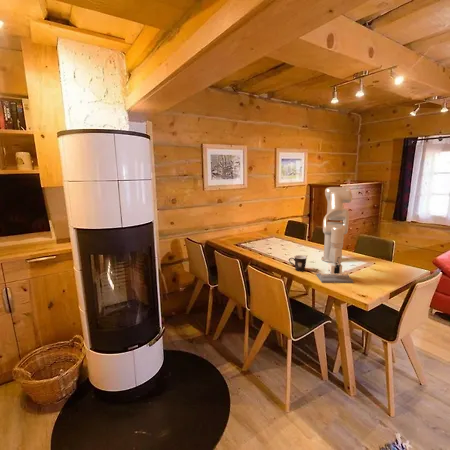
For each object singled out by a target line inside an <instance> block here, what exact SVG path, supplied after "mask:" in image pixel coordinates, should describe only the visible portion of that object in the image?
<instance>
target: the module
mask: <svg viewBox="0 0 450 450" xmlns="http://www.w3.org/2000/svg"><path fill="white" fill-rule="evenodd" d="M327 265H328V266H327V271H328V272H330V273H329V274H343V265H342V264H341V265H340V271H339V273H334V267H335V263H331V262H327ZM337 265H338V264H336V266H337Z"/></svg>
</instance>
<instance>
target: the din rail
mask: <svg viewBox="0 0 450 450" xmlns="http://www.w3.org/2000/svg"><path fill="white" fill-rule="evenodd" d="M319 274H320V277H321V278H349V277H350V275H349V273H342V274H331V273H319Z"/></svg>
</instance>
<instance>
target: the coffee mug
mask: <svg viewBox="0 0 450 450" xmlns="http://www.w3.org/2000/svg"><path fill="white" fill-rule="evenodd" d="M292 259H293V261H294V263H293V262H292V261H291V260H292ZM288 261H289V264H291V265H292V266H294V268H295V271H296V272H301V273H302V272H305V271H306V270H305V269H306V264H307V256H305V255H301V254H300V255H299V254H298V255H294V257H290V258H289V259H288Z"/></svg>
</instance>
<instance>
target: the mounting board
mask: <svg viewBox="0 0 450 450" xmlns="http://www.w3.org/2000/svg"><path fill="white" fill-rule="evenodd" d="M320 274H321V273H316V277H317V278H318V280H319V281H320V282H321V283H322V284H324V283H325V284H326V283H327V284H328V283H329V284H332V283H333V284H337V283H338V284H341V283H342V284H351V283H352V284H353V283H354V280H353V279H352V278H351V276H349V278H321V277H320Z"/></svg>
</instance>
